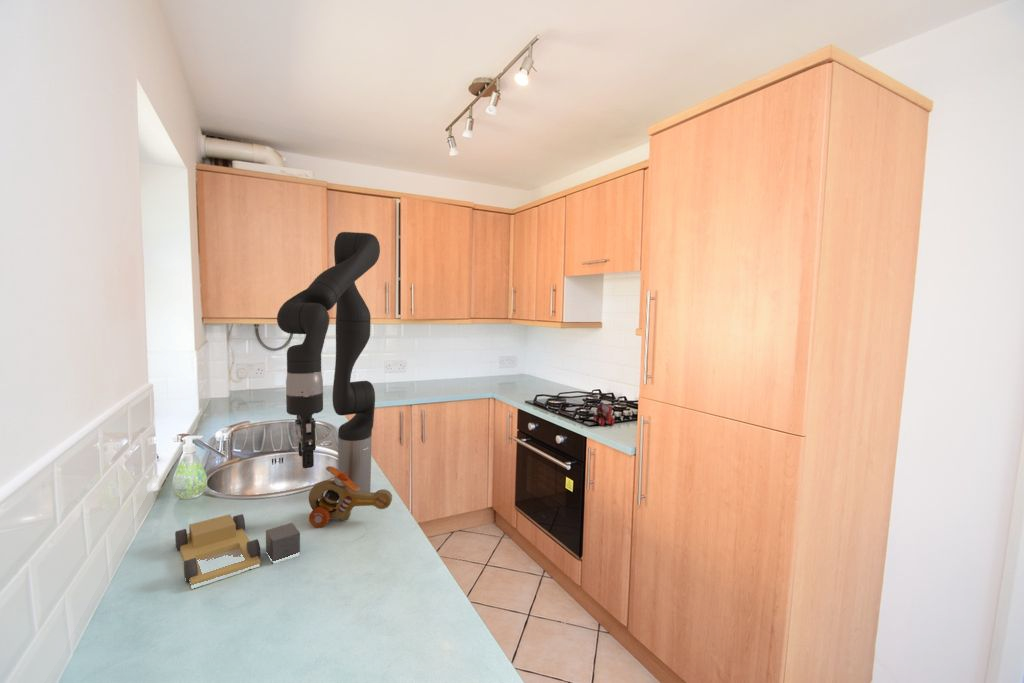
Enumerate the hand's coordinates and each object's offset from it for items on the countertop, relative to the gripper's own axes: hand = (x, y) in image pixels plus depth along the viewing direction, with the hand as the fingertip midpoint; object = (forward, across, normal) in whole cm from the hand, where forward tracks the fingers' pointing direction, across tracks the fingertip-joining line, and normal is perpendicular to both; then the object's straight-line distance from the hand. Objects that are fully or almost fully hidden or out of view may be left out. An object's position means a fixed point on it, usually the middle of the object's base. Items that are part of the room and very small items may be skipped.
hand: (305, 461), depth 101 cm
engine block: (+20, +1, -5) cm, 21 cm away
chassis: (+20, -6, -18) cm, 27 cm away
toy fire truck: (+21, -51, +138) cm, 149 cm away
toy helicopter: (+20, -9, +10) cm, 24 cm away
